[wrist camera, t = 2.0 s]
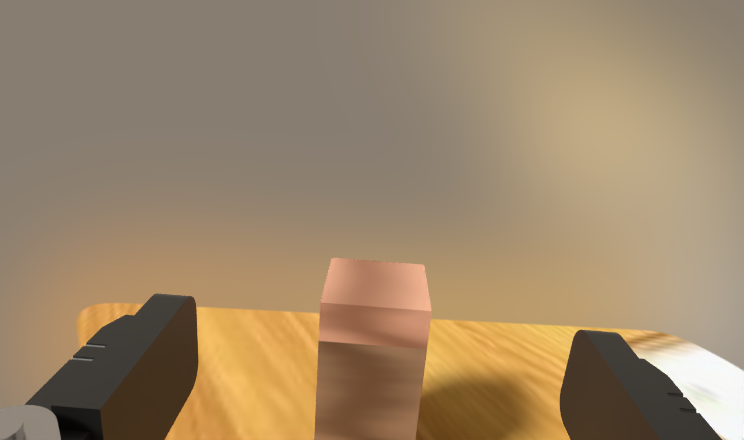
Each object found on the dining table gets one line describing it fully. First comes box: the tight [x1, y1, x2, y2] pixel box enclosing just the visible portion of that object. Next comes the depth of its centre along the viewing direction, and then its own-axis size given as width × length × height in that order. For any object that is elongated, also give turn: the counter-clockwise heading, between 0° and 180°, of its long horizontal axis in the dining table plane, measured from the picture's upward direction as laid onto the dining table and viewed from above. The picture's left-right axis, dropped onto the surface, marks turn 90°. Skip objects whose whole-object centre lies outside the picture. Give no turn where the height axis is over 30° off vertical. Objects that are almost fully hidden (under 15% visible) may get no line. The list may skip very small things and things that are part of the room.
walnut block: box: [314, 258, 432, 440], centre depth 27 cm, size 5×5×12 cm
